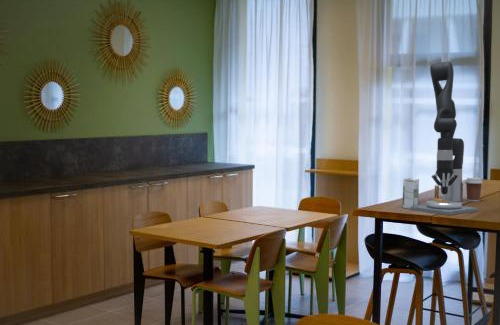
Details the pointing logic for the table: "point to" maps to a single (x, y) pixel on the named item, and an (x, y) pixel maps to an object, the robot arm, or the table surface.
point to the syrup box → (410, 192)
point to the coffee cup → (473, 188)
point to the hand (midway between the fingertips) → (444, 194)
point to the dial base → (444, 210)
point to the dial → (442, 202)
